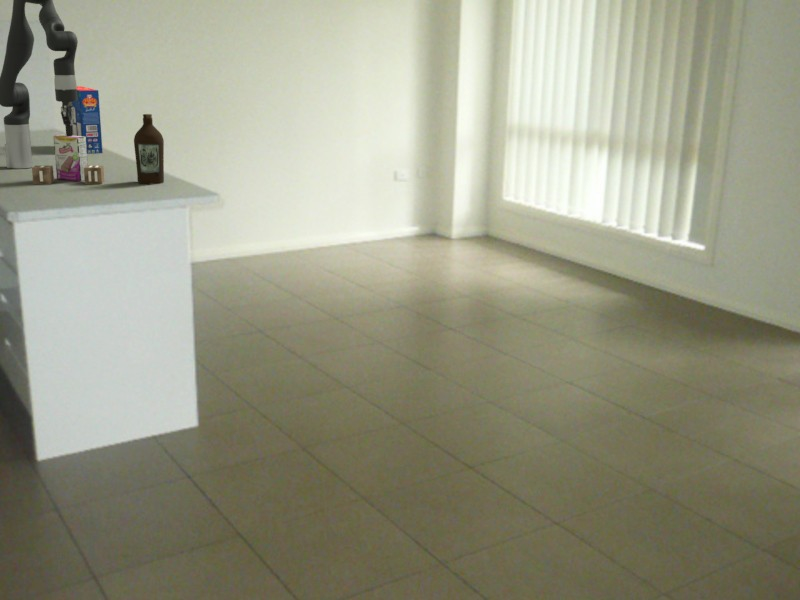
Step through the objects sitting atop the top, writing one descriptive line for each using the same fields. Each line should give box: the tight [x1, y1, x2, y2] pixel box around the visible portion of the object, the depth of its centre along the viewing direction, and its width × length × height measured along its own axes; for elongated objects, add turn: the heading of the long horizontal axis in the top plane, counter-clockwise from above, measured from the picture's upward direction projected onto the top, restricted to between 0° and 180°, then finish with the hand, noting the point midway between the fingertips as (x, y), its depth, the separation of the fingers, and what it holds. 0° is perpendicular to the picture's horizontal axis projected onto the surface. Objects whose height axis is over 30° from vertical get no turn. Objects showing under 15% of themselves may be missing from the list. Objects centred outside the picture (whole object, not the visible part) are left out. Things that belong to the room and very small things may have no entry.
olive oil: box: [133, 113, 165, 185], centre depth 338 cm, size 11×11×25 cm
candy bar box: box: [53, 134, 89, 182], centre depth 340 cm, size 11×5×16 cm, turn 71°
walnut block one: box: [31, 165, 55, 185], centre depth 334 cm, size 6×6×6 cm
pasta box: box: [72, 86, 104, 155], centre depth 421 cm, size 28×8×28 cm, turn 34°
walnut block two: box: [84, 165, 105, 185], centre depth 337 cm, size 6×6×6 cm
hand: (69, 135), depth 338 cm, fingers closed
